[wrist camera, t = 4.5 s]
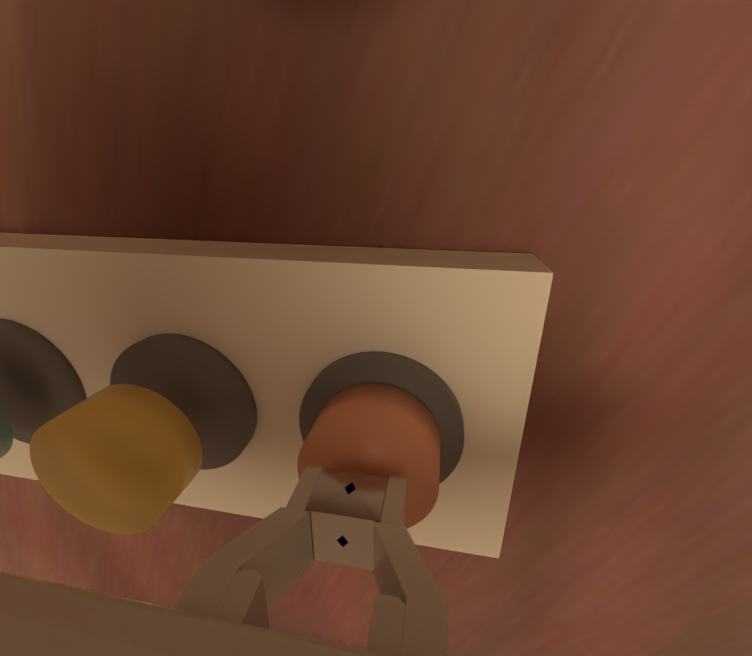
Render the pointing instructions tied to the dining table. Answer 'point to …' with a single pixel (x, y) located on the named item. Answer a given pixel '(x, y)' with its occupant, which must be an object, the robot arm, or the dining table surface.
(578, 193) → the dining table surface
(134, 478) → the mustard button
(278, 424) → the button panel
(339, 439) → the terracotta button
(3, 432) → the teal button
